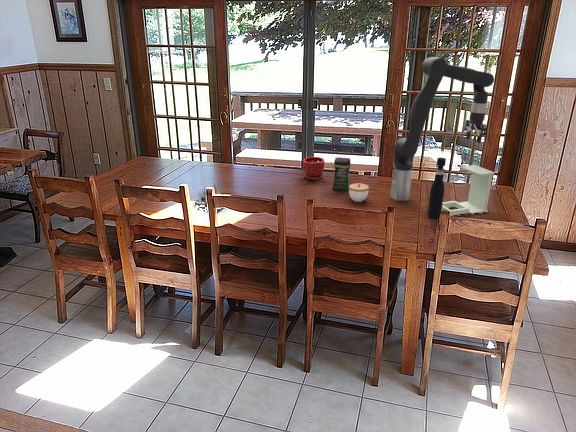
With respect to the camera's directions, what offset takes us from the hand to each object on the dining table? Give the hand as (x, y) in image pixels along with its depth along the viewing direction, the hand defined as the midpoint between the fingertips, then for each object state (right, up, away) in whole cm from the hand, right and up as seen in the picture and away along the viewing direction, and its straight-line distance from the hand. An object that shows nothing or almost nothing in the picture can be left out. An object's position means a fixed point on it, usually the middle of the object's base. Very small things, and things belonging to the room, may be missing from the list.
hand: (473, 141), depth 249 cm
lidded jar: (-63, -33, -1) cm, 71 cm away
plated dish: (-144, -34, -2) cm, 148 cm away
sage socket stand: (-13, -38, -15) cm, 43 cm away
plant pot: (-86, -18, +35) cm, 95 cm away
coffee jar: (-71, -25, +17) cm, 77 cm away
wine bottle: (-29, -42, -23) cm, 56 cm away
